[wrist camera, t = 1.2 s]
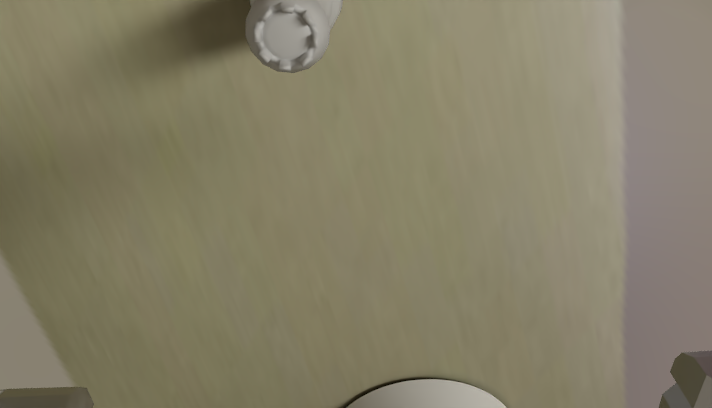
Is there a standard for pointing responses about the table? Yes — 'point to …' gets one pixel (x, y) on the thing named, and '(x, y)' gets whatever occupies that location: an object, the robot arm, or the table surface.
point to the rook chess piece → (290, 31)
